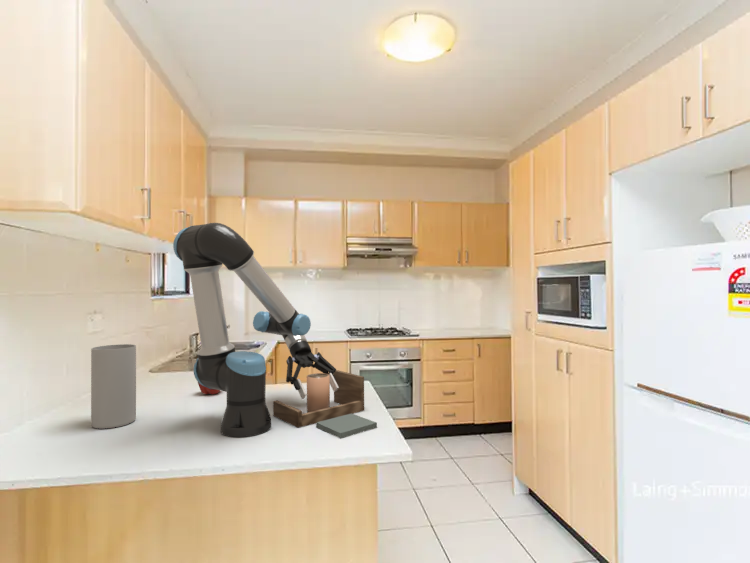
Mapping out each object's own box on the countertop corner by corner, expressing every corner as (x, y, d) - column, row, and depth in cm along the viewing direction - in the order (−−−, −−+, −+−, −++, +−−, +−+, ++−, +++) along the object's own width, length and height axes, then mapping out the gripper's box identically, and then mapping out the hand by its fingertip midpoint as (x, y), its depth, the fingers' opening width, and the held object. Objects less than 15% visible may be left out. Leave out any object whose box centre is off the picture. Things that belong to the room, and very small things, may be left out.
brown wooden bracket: (297, 427, 131) (297, 389, 131) (273, 415, 143) (273, 380, 143) (364, 410, 148) (364, 376, 148) (337, 401, 161) (336, 370, 161)
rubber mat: (340, 438, 121) (340, 433, 121) (316, 427, 131) (316, 422, 131) (376, 427, 130) (376, 422, 130) (351, 417, 140) (351, 413, 140)
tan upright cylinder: (314, 417, 141) (314, 379, 141) (302, 412, 147) (302, 375, 147) (334, 412, 146) (334, 375, 146) (321, 408, 152) (321, 372, 152)
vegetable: (201, 398, 166) (201, 373, 166) (191, 394, 174) (191, 370, 174) (227, 393, 174) (227, 369, 174) (217, 389, 181) (217, 366, 181)
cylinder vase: (90, 432, 128) (90, 350, 128) (92, 421, 139) (92, 346, 139) (136, 424, 135) (136, 347, 135) (135, 415, 145) (135, 343, 146)
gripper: (321, 348, 168) (344, 393, 157) (264, 356, 152) (285, 406, 140) (329, 336, 164) (353, 381, 153) (271, 342, 148) (293, 393, 136)
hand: (320, 393), depth 147 cm, fingers open, 13 cm apart
